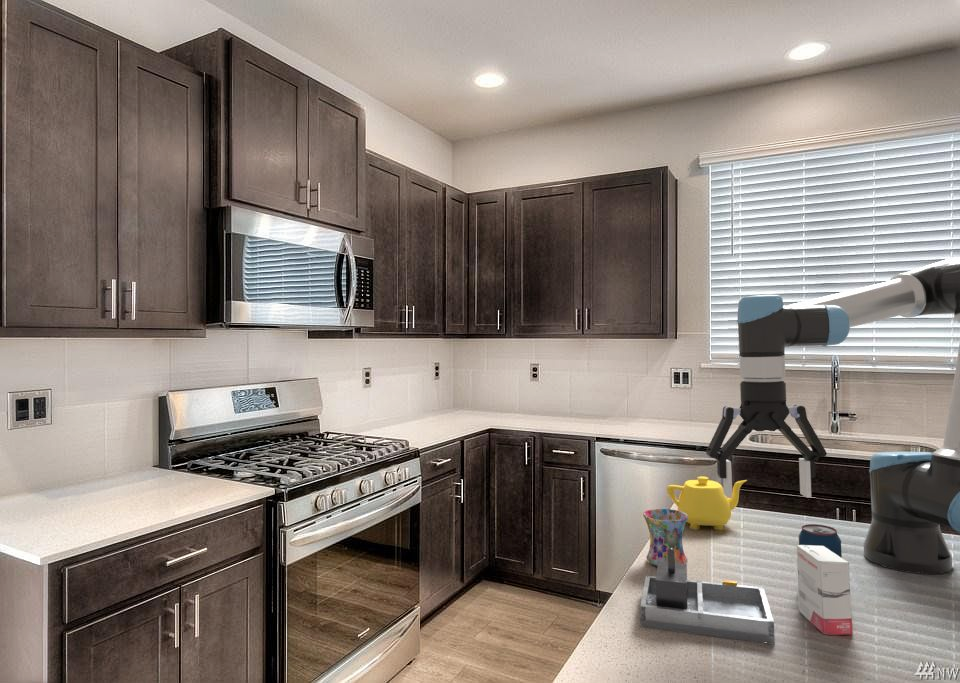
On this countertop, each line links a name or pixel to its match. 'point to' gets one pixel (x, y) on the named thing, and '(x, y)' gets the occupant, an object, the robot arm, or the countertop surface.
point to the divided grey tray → (704, 605)
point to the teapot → (705, 502)
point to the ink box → (824, 589)
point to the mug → (665, 534)
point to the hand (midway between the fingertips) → (766, 496)
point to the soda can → (821, 537)
